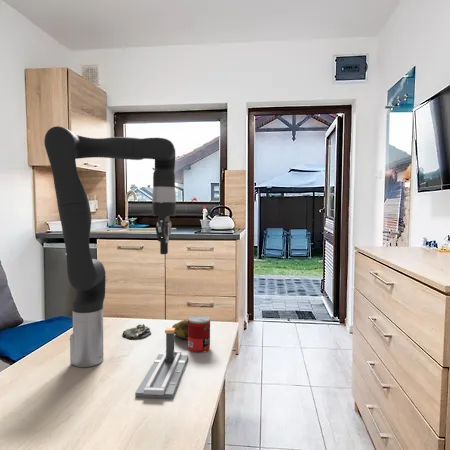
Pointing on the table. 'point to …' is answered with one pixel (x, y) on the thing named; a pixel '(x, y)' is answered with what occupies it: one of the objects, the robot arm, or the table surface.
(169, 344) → the fader tab
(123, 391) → the table surface
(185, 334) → the potato
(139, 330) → the grey rough oval piece
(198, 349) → the canned food
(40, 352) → the table surface
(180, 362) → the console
